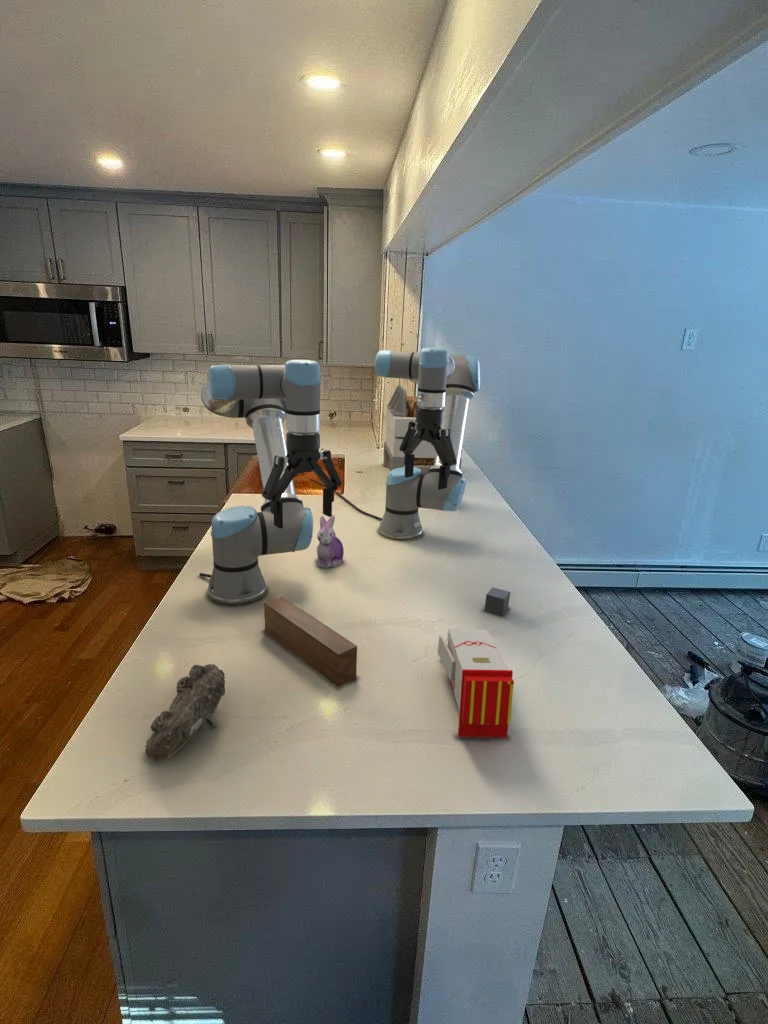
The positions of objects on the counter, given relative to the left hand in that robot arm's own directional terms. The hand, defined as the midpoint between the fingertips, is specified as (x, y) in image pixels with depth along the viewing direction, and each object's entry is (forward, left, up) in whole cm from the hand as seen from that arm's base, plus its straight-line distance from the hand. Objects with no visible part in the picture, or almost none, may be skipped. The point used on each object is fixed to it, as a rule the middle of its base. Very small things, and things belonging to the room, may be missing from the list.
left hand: (303, 520), depth 134 cm
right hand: (+23, +35, +2) cm, 42 cm away
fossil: (-6, -41, -27) cm, 49 cm away
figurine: (-5, +34, -27) cm, 44 cm away
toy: (+43, -17, -27) cm, 53 cm away
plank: (+6, -14, -27) cm, 31 cm away
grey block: (+47, +20, -27) cm, 58 cm away
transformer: (+4, +145, -27) cm, 147 cm away
